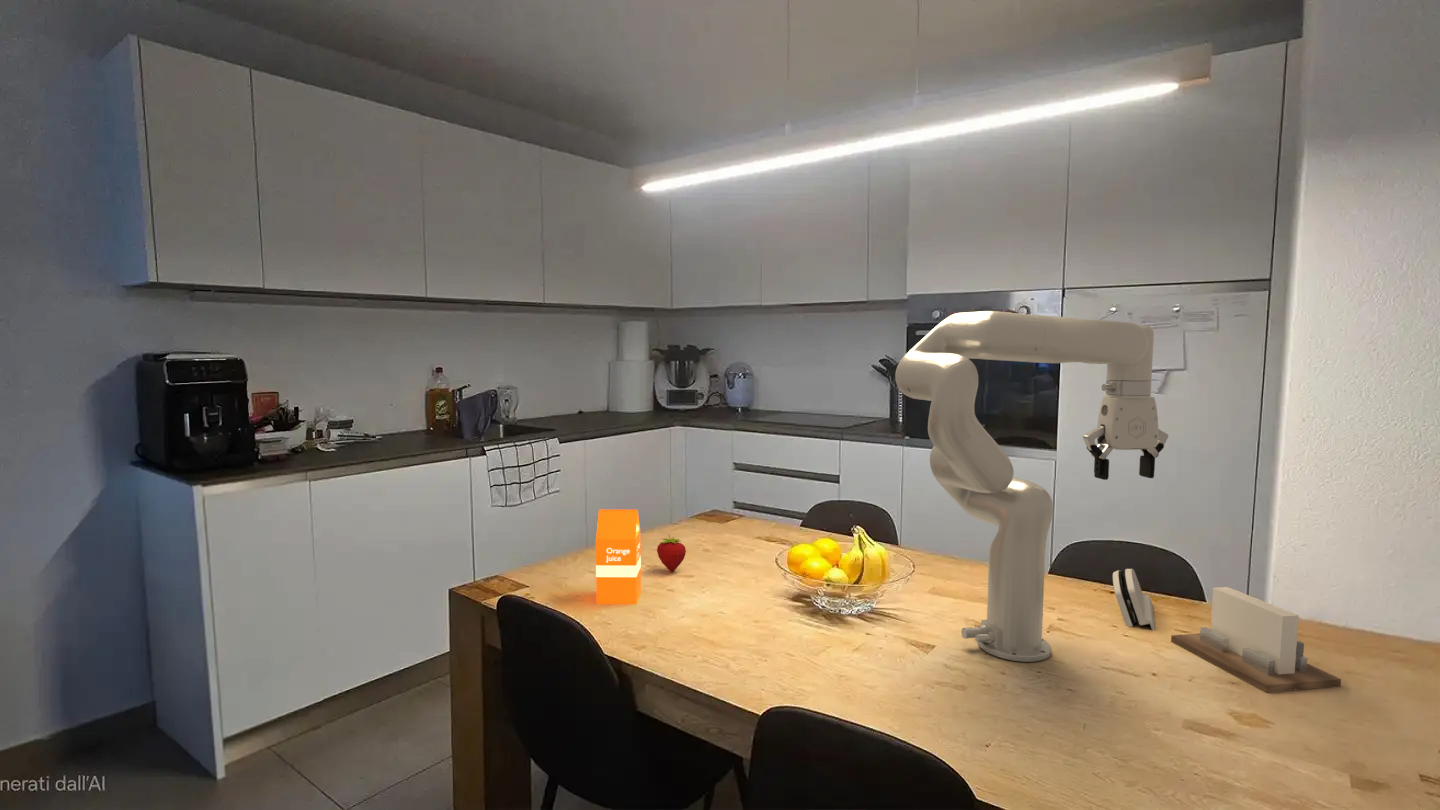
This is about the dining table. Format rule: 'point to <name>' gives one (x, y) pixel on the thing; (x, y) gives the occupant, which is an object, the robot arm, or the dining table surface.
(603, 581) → the orange juice
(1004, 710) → the dining table surface
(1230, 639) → the door panel
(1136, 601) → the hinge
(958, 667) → the dining table surface
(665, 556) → the strawberry
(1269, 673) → the wooden assembly fixture
